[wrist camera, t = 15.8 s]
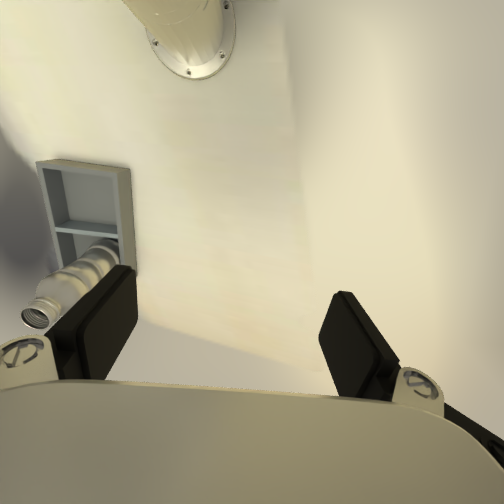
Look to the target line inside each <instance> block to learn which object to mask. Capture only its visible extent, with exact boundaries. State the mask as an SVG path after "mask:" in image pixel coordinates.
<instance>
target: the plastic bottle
mask: <svg viewBox="0 0 504 504" xmlns="http://www.w3.org/2000/svg"><path fill="white" fill-rule="evenodd" d="M116 264H119V265H121V262H120V252H119V243H117V242H115V241H113V240H110V239H102V240H100V241H97V242H95V243H93V244H92V245H91V246H90V247H89V248H88V249H87V250H86V252H85V253H84V254H83V255H82V256H81V257H79V258H78V259H77V260H76V261H74V262H73V263H71V264H69V265H68V266H66V267H64V268H62V269H60V270H58V271H55V272H53V273H51V274H50V275H48V276H46V277H45V278H43V279H42V281H41V282H40V283H39V285H38V287H37V292H36V298H35V299H33V300H32V301H30V302H29V303H28V305H27V306H25V307H24V308H23V309H22V310H21V312H20V319H21V320H22V322H23V323H24V324H25V325H27V326H28V327H30V328H32V329H35V330H45V329H47V328H48V327H50V326H51V325H52V324H53V323H54V322H56V321H57V320H58V319H59V318H60V316H62V315H64V314H65V313H66V312H67V311H68V310H69V309H70V308H71V307H72V306H73V305H74V304H75V303H76V302H77V301H78V300H79V299H80V298H81V297H82V296H83V295H84V294H86V293H87V292H89V291H90V290H91V289H92V288H93V287H94V286H95V285H96V284H97V283H98V282H99V281H100V280H101V279H102V278H103V277H104V276H105V275H106V274H107V273H108V272H109V271H110V270H111V269H112V268H113V267H114V266H115V265H116Z"/></svg>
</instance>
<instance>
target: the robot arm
mask: <svg viewBox="0 0 504 504" xmlns="http://www.w3.org/2000/svg"><path fill="white" fill-rule="evenodd" d="M122 1H123V2H124V3H125V5H126V6H127V7H128V8H129V9H130V10H131V11H132V13H133V14H134V15H135V16H136V17H137V18H138V19H139V20H140V22H141V23H142V24H143V25H144V26H145V29H146V33H147V36H148V39H149V42H150V44H151V46H152V48H153V50H154V52H155V54H156V55H157V57H158V58H159V59H160V60H161V62H162V63H163V64H164V65H165V66H166V67H167V68H168V69H169V70H171V71H172V72H173V73H175V74H176V75H178V76H181V77H183V78H186V79H190V80H202V79H206V78H209V77H211V76H213V75H215V74H216V73H217V72H218V71H219V70H221V68H222V67H223V66H224V65H225V64H226V62H227V60H228V58H229V56H230V54H231V51H232V48H233V45H234V39H235V16H234V11H233V7H232V3H231V1H230V0H122ZM225 6H227V7H228V9H225ZM157 42H158V43H159V44H158V46H156V43H157ZM222 55H224V58H223V59H222V58H221V56H222ZM189 71H190V72H191V75H189V74H188V72H189ZM137 320H138V305H137V286H136V271H135V270H134V269H132V267H131V266H128V265H119V264H116V265H115V266H114V267H113V268H112V269H111V270H110V271H109V272H108V273H107V274H106V275H105V276H104V277H103V278H102V279H101V280H100V281H99V282H98V283H97V284H96V285H95V286H94V287H93V288H92V289H91V290H90V291H89V292H87V293H86V294H84V295H83V296H82V297H81V298H80V299H79V300H78V301H77V302H76V303H75V304H74V305H73V306H72V307H71V308H70V309H69V310H68V311H67V312H66V313H65V314H64V315H63V317H61V319H59V321H57V323H55V325H54V326H52V328H50V330H49V331H47V332H46V333H45V334H44V336H43V335H37V334H36V335H26V336H22V337H18V338H15V339H12V340H10V341H8V342H6V343H4V344H2V345H1V346H0V504H504V441H503V440H502V439H501V438H499V437H498V436H496V435H495V434H493V433H491V432H490V431H488V430H487V429H485V428H484V427H482V426H480V425H479V424H477V423H476V422H474V421H473V420H471V419H469V418H468V417H466V416H465V415H463V414H461V413H460V412H459V411H457V410H455V409H454V408H452V407H451V406H449V405H447V404H446V403H444V395H443V392H442V390H441V389H440V387H439V386H438V385H437V383H436V382H435V381H434V380H432V379H431V378H430V377H429V376H428V375H426V374H425V373H423V372H421V371H419V370H417V369H414V368H410V367H404V368H401V367H400V365H399V364H398V363H399V361H400V360H399V359H398V357H397V356H396V354H395V353H394V352H393V350H392V349H391V348H390V346H389V344H388V343H387V342H386V340H385V339H384V337H383V336H382V335H381V333H380V332H379V330H378V329H377V327H376V326H375V325H374V323H373V322H372V320H371V319H370V317H369V316H368V314H367V313H366V312H365V310H364V309H363V308H362V306H361V305H360V303H359V302H358V300H357V299H356V297H355V296H354V295H353V293H352V292H346V291H338V293H335V294H334V295H333V298H332V300H331V303H330V306H329V308H328V311H327V314H326V317H325V319H324V322H323V325H322V327H321V330H320V333H319V343H320V346H321V349H322V351H323V354H324V357H325V359H326V362H327V365H328V367H329V370H330V373H331V375H332V378H333V381H334V384H335V386H336V389H337V392H338V394H339V396H328V395H315V394H302V393H290V392H278V391H264V390H249V389H236V388H223V387H208V386H194V385H179V384H162V383H149V382H132V381H111V380H105V379H106V377H107V375H108V373H109V371H110V370H111V368H112V366H113V364H114V363H115V361H116V359H117V357H118V355H119V354H120V352H121V350H122V348H123V347H124V345H125V343H126V341H127V339H128V338H129V336H130V334H131V332H132V330H133V329H134V327H135V325H136V323H137Z"/></svg>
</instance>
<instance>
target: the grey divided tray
mask: <svg viewBox="0 0 504 504" xmlns="http://www.w3.org/2000/svg"><path fill="white" fill-rule="evenodd" d="M36 167H37V171H38V175H39V180H40V184H41V189H42V193H43V198H44V202H45V206H46V211H47V215H48V219H49V224H50V228H51V233H52V237H53V242H54V246H55V251H56V255H57V260H58V264H59V269H62V268H64V267H66V266H68V265H69V264H71V263H73V262H74V261H76V260H77V259H78V258H79V257H81V256H82V255H83V254H84V253H85V252H86V250H87V249H88V248H89V247H90V246H91V245H92V244H93V243H95V242H97V241H100V240H102V239H110V240H113V241H115V242H117V243H119V252H120V262H121V265H128V266H131V267H132V269H134V270H135V271H136V276H137V263H136V248H135V234H134V219H133V204H132V190H131V175H130V169H125V168H118V167H111V166H104V165H97V164H90V163H82V162H75V161H68V160H61V159H54V160H46V161H37V162H36Z"/></svg>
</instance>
